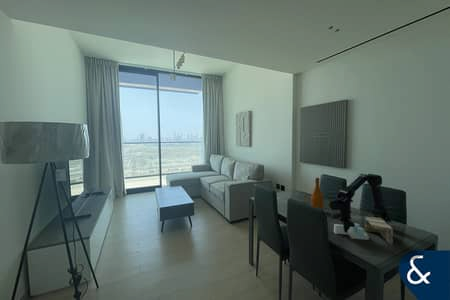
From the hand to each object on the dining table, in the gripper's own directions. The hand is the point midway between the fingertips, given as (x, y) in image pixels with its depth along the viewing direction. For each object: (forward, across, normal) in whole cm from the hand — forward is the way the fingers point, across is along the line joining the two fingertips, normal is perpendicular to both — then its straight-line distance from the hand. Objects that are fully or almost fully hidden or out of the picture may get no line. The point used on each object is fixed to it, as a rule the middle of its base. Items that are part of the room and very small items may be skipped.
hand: (344, 231), depth 129 cm
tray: (+2, 0, +3) cm, 3 cm away
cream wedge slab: (+2, 0, +18) cm, 18 cm away
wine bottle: (+2, -37, -13) cm, 39 cm away
